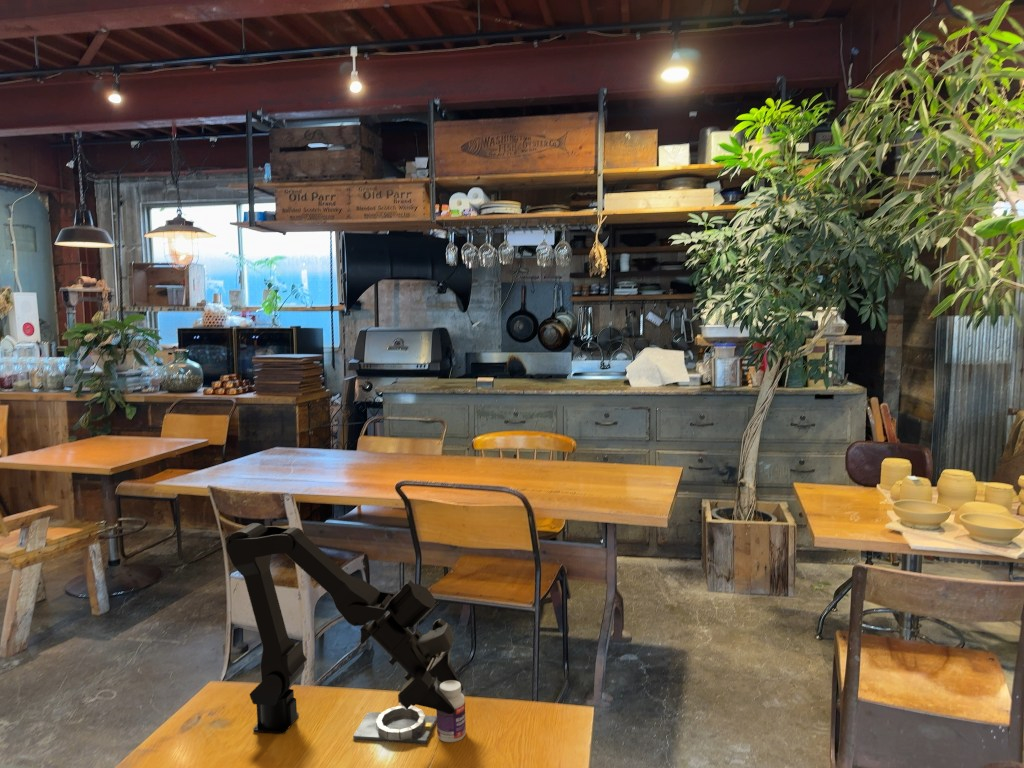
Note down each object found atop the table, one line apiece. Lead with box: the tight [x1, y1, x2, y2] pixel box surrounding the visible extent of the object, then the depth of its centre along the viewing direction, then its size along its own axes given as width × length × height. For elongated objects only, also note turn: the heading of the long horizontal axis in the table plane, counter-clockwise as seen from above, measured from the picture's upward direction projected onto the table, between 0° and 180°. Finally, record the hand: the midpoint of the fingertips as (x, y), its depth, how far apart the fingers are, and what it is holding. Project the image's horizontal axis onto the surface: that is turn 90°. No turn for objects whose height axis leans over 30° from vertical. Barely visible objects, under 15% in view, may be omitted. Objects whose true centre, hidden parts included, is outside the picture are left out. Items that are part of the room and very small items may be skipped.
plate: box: [352, 711, 437, 745], centre depth 130 cm, size 14×8×1 cm, turn 82°
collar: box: [376, 704, 432, 740], centre depth 130 cm, size 10×9×2 cm
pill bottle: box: [436, 680, 467, 743], centre depth 128 cm, size 5×5×10 cm
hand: (457, 701), depth 128 cm, fingers open, 7 cm apart
